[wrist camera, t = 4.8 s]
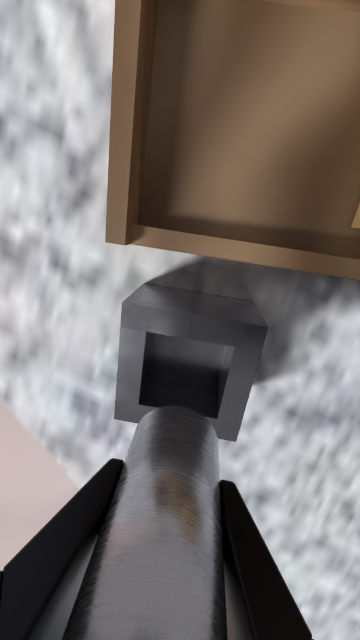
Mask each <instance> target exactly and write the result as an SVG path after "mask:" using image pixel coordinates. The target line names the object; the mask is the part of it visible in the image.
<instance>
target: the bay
mask: <svg viewBox="0 0 360 640" xmlns="http://www.w3.org/2000/svg"><path fill="white" fill-rule="evenodd" d="M359 203H360V0H115V24H114V48H113V72H112V96H111V120H110V144H109V168H108V193H107V217H106V241H105V242H108V243H114V244H120V245H128V244H133V245H139V246H146V247H152V248H158V249H165V250H171V251H177V252H184V253H190V254H196V255H203V256H209V257H216V258H222V259H228V260H235V261H241V262H247V263H254V264H260V265H266V266H273V267H279V268H285V269H292V270H298V271H304V272H311V273H317V274H323V275H330V276H336V277H342V278H349V279H355V280H360V229H357V228H351V226H352V223H353V220H354V217H355V215H356V212H357V209H358V206H359Z"/></svg>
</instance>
